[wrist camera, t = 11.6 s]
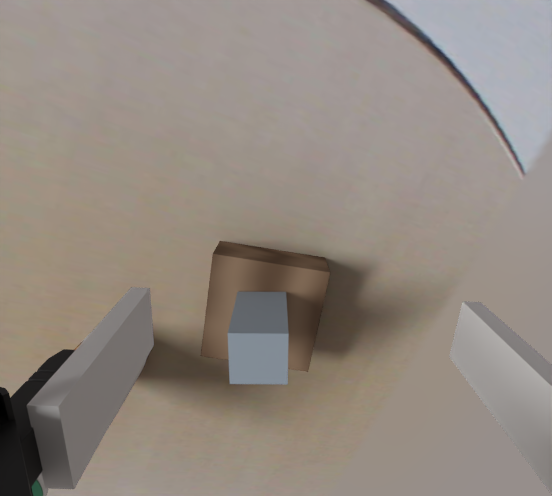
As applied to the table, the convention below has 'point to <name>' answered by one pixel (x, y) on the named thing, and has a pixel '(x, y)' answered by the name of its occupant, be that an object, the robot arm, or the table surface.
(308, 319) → the walnut box
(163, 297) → the table surface
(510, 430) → the robot arm
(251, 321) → the block
